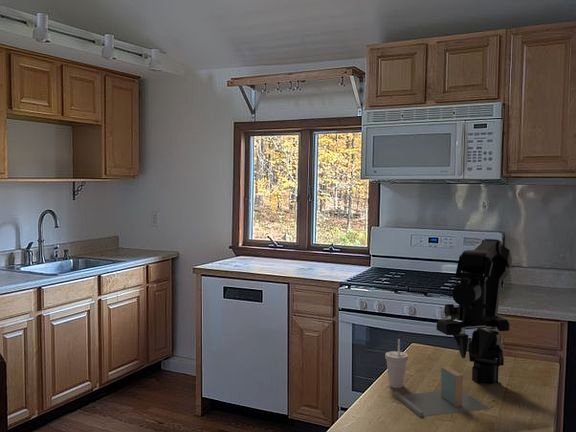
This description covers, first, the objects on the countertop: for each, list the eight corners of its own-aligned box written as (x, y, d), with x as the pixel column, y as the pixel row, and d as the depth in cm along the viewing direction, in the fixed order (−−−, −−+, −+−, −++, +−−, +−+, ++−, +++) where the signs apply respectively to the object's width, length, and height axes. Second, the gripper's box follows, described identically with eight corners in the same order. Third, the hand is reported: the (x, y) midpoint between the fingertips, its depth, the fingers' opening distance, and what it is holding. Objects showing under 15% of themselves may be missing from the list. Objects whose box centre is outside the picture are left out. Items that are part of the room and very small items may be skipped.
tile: (447, 395, 155) (448, 366, 155) (462, 405, 149) (462, 375, 148) (440, 396, 155) (441, 367, 154) (454, 406, 148) (455, 375, 147)
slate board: (459, 391, 160) (459, 385, 160) (490, 411, 147) (490, 404, 147) (394, 398, 155) (394, 392, 155) (419, 419, 142) (419, 412, 141)
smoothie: (407, 393, 159) (408, 343, 158) (384, 391, 160) (384, 341, 159) (407, 384, 165) (408, 336, 164) (384, 383, 167) (385, 335, 166)
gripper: (486, 291, 162) (484, 345, 163) (426, 294, 157) (425, 350, 158) (511, 299, 151) (509, 357, 152) (448, 303, 146) (447, 363, 147)
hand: (472, 357), depth 153 cm, fingers open, 5 cm apart
